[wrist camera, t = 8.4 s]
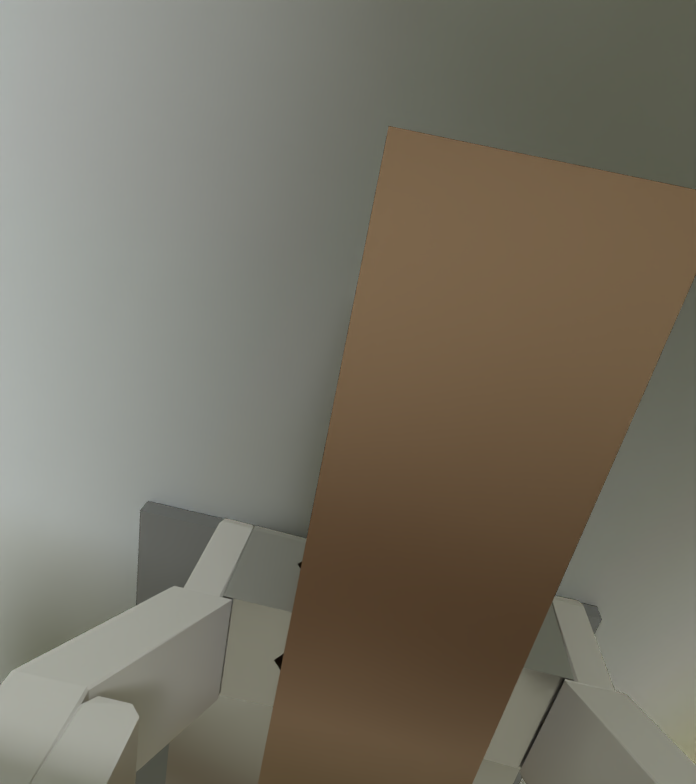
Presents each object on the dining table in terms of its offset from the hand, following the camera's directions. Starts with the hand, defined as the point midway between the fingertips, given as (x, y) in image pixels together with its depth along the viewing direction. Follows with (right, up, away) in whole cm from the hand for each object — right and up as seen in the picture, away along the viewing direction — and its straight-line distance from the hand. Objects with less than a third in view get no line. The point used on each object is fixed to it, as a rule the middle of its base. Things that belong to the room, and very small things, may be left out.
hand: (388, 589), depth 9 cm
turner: (0, -2, +2) cm, 3 cm away
